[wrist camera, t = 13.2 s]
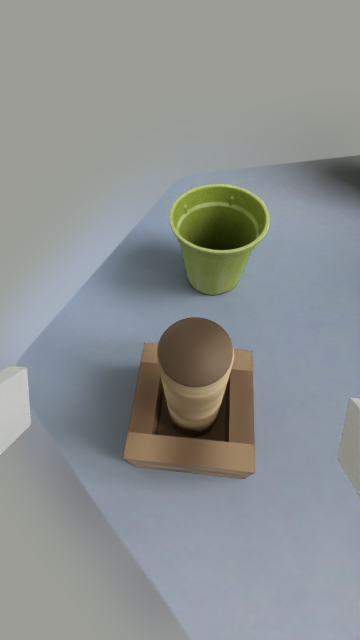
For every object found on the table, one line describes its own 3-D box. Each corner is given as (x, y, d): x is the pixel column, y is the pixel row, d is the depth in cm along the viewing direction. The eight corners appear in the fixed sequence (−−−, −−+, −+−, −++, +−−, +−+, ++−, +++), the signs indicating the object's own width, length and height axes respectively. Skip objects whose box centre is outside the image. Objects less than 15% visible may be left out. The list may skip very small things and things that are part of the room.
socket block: (243, 373, 29) (252, 350, 25) (244, 478, 25) (255, 472, 20) (151, 366, 30) (144, 342, 26) (134, 466, 25) (123, 458, 21)
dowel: (217, 392, 27) (235, 318, 16) (215, 439, 25) (234, 390, 14) (172, 387, 27) (161, 313, 17) (167, 434, 25) (150, 383, 15)
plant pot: (263, 258, 37) (281, 196, 30) (239, 319, 33) (253, 264, 25) (192, 238, 39) (192, 175, 32) (160, 293, 35) (151, 234, 27)
